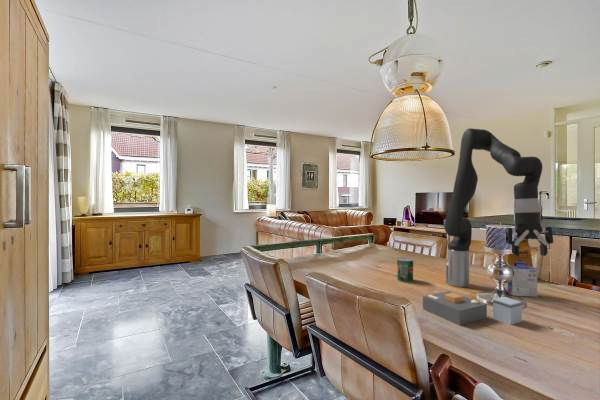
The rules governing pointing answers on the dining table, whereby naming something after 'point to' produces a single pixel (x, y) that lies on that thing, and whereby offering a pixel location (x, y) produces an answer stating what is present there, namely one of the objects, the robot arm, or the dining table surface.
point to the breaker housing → (455, 308)
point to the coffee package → (520, 255)
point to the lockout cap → (507, 310)
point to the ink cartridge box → (523, 280)
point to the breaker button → (453, 297)
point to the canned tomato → (405, 269)
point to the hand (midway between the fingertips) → (529, 255)
